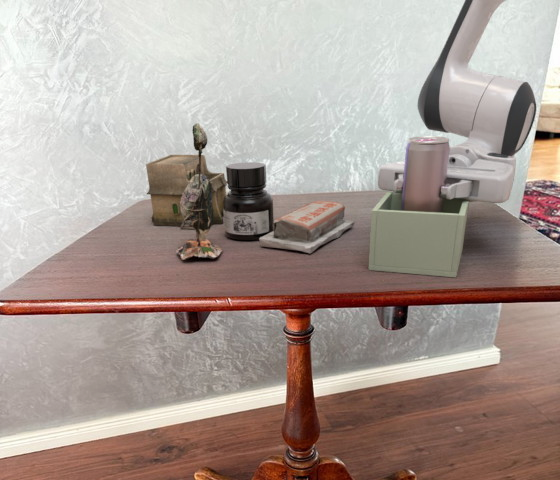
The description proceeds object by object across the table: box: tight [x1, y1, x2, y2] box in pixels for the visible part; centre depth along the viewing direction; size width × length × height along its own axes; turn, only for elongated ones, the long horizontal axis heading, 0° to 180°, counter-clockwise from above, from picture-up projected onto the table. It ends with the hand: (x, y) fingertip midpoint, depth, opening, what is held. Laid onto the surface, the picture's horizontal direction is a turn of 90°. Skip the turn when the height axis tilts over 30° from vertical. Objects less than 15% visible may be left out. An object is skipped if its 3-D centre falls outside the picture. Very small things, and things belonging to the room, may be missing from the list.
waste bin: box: [368, 191, 470, 279], centre depth 82 cm, size 13×13×9 cm
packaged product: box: [258, 200, 356, 254], centre depth 95 cm, size 18×5×10 cm
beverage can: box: [401, 135, 451, 213], centre depth 79 cm, size 6×6×15 cm
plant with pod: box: [175, 122, 224, 260], centre depth 86 cm, size 8×11×20 cm
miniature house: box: [145, 154, 228, 231], centre depth 107 cm, size 15×14×11 cm
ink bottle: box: [223, 161, 275, 241], centre depth 96 cm, size 10×9×12 cm
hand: (421, 190), depth 78 cm, fingers closed on beverage can, 6 cm apart
